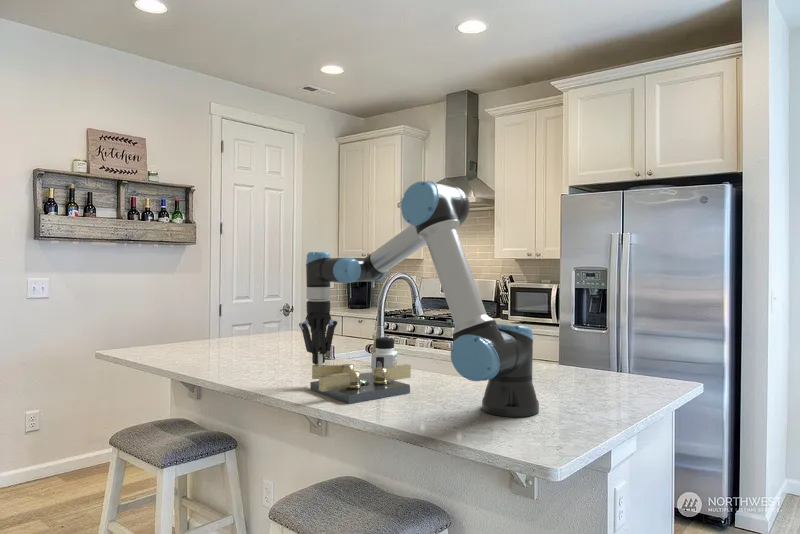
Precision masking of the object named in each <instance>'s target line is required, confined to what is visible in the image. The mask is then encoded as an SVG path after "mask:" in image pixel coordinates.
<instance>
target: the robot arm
mask: <svg viewBox="0 0 800 534" xmlns="http://www.w3.org/2000/svg"><path fill="white" fill-rule="evenodd" d="M470 207H471V205H470V201H469V197H468V196H467V194H466V193H465V192H464V190H462V189H461V188H459V187H457V186H454V185H450V184H443V183H435V182H433V181H431V180H430V181H428V180H427V181H416V182H413V184H411V185H409V186H408V188H407V189H406V190H405V192H404V194H403V198H401V205H400V210H401V211H400V212H401V215H402V217H403V220H404V221H405V222H406V223H408V224H410V225H409V226H407V227H406V228H404V229H403V230H402V231H400V232H399V233H398V234H396V235H395V236H394V237H391V239H389V240H388V241H386V242H385V243H383V244H382V245H381V246H380V247H378V248H377V249H375V250H374V251H373V252H371V253H370V254H369V255H367V256H365V257H353V258H352V257H336V258H335V257H334V258H333V257H332V258H331V253H330V252H328V251H309V252H308V253H307V254H306V262H305V263H306V264H305V266H306V267H305V268H306V270H305V271H306V272H305V273H306V275H305V276H306V299H307V301H306V316H305V320H304V321H303V322H299V324H298V326H299V328H300V329H301V333H302V335H303V336H302V337H303V340H304V345H305V349H306V352H308V353H310V354H311V356H312V357H311V359H312V365H324V364H325V362H326V354H327V352H330V350H331V348H332V342H333V339H334V338H333V337H334V334H335V330H336V326H337V325H338V321H337V320H334V319H332V315H331V313H330V312H331V301H330V299H331V283H341V284H351V283H359V282H360V283H361V282H372V283H373V282H377V281H381V280H383V279H385V277H386V275H387V273H388V271H389V270H390V269H393V267H395V266H397V265H398V264H399V263H401V262H402V261H404V260H405V259H408V258H409V257H410V256H411V255H413V254H415V253H416V252H417V251H419V250H420V249H422V248H423V247H425V246H427V248H428V251H429V255H430V256H431V259H432V263H433V266H434V269H435V270H436V271H435V272H436V274H437V276H438V277H437V278H438V281H439V283H440V286H441V289H442V292H443V295H444V298H445V300H446V304H447V306H448V308H449V312H450V315H451V318H452V321H453V324H454V329H453V330H452V333H451V336H452V339H453V343H452V346H451V350H450V359H451V363H452V366H453V368H454V369H455V371H456V372H457V373H458V374H459V375H460V376H461V377H463V378H464V379H467V380H468V381H472V382H481V381H482V382H485V381H487V384H486V387H485V390H484V391H485V392H484V394H483V397H482V400H481V409H482V411H483V412H485V413H486V414H487V413H488V414H490V415H495V416H500V417H508V418H511V417H512V418H519V417H520V418H521V417H530V416H534V415H537V414H538V413H539V412H540V403H539V400H538V398H537V393H536V390H535V387H534V386H535V385H534V382H533V362H534V359H533V355H534V354H533V351H534V350H533V347H534V346H533V343H534V338H533V330H532V329H531V327H529V326H525V325H524V326H523V325H513V324H512V325H511V324H501V323H497V320H496V319H495V318H493V317H491V316H489V315H488V314H487V311H486V309H485V305H484V304H483V300H482V298H481V295H480V291H479V289H478V286H477V284H476V281H475V278H474V275H473V272H472V271H471V267H470V264H469V261H468V258H467V256H466V253H465V250H464V248H463V244H462V242H461V239H460V235H459V234H458V228H459V227H460V226H461V225H463V223H464V222H466V220H467V218H468V216H469V213H470V209H471V208H470ZM309 327H310V329H309Z"/></svg>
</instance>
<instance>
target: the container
mask: <svg viewBox="0 0 800 534" xmlns="http://www.w3.org/2000/svg"><path fill="white" fill-rule="evenodd" d="M397 365H399V363H398V351H397V350H395V339H394V338H393V337H391V336H381V337H376V338H375V352H373V353H371V374H372V375H374V368H378V367H390V366H397Z"/></svg>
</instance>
